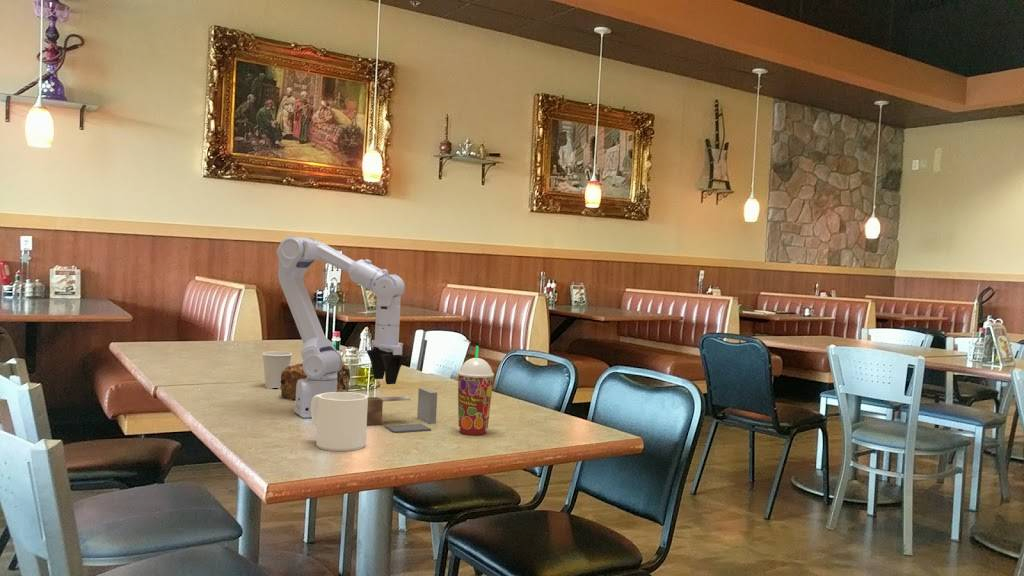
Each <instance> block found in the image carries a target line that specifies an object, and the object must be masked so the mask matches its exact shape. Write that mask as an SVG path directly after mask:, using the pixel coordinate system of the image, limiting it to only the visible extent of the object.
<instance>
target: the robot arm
mask: <svg viewBox="0 0 1024 576" xmlns="http://www.w3.org/2000/svg"><path fill="white" fill-rule="evenodd" d="M278 245H279V246H278V247H277V249H276V251H275V252H276V256H277V257H278V267H277V278H278V281H279V284H280V287H281V291H283V294H284V298H285V300H286V303H287V304H288V307H289V309H290V313H291V315H292V317H293V320H294V322H295V325H296V328H297V330H298V333H299V335H300V338H301V341H302V348H301V351H300V354H301V355H300V356H301V357H302V363H303V370H304V372H305V374H306V375H307V378H306V379H299V380H298V381H297V385H296V399H295V402H294V403H295V406H294V412H295V414H297V415H298V416H300V417H301V418H304V419H305V418H306V419H307V418H312V416H311V402H312V399H313V397H314V396H315V395H320V394H323V393H329V392H337V372H338V371H339V370H340V369H341V367H342V364H343V363H344V362H343V357H342V355H341V353H340V352H339V351H338V350H337V349H336V348H335V346H334V343H333V342H332V341H331V340H330V339H328V338H327V337H326V335H325V333H324V330H323V328H322V325H321V322H320V319H319V318H318V315H317V312H316V310H315V307H314V304H313V302H312V300H311V297H310V295H309V292H308V290H307V287H306V284H305V282H304V279H303V278H304V275H305V274H306V272H307V270H308V269H309V268H310V267H311V266H312V265H313V264H314V263H315V262H316V261H322V262H324V263H326V264H328V265H331V266H333V267H335V268H338V269H340V270H341V271H344V272H346V273H348V276H349V279H350V281H352V282H354V283H355V284H357V285H360V286H361V287H363V288H365V289H366V290H369V291H370V292H372V293H374V296H376V305H375V306H376V307H375V323H374V324H375V327H374V329H375V330H374V339H371V342H370V343H371V345H370V346H371V347H370V348H371V349H367V350H366V353H367V355H368V357H369V361H370V364H371V369H372V374H373V378H374V380H384V378H385V384H386V385H396V383H397V380H398V376H399V373H400V369H401V367H402V366H403V363H404V361H405V360H406V358H407V355H405V354H403V346H404V343H402V342H399V341H400V340H399V339H400V325H401V324H400V320H401V300H402V295H403V294H404V293H405V288H406V285H405V282H404V279H402V277H400V276H399V275H398V274H395V273H393V274H389V270H388V269H386V268H383V269H382V268H379V267H377V266H376V265H373V261H372V260H370V259H367V258H366V259H358V260H356V261H355V260H353V259H352V258H351V257H349V256H346V254H343V253H341V252H340V251H338V250H336V249H334V248H333V247H331V246H329V245H327V244H326V243H324V242H322V241H319V240H315V239H314V238H312V237H299V236H298V237H297V236H293V235H289V236H288V235H287V236H286V237H284V238H283V239H282V240H281V242H280V244H278Z"/></svg>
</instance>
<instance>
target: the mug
mask: <svg viewBox="0 0 1024 576" xmlns="http://www.w3.org/2000/svg"><path fill="white" fill-rule="evenodd" d="M368 397H369V395H367V394H365V393H360V392H350V391H348V392H329V393H323V394H320V395H315V396H314V397H313V399H312V402H311V416H312V417H311V421H312V423H313V425H314V426H315V428H316V440H315V441H316V442H315V445H316V448H319V449H321V450H324V451H330V452H331V451H332V452H353V451H358V450H361V449H364V448H365V447H366V445H367V444H366V443H367V428H368V426H367V407H368Z"/></svg>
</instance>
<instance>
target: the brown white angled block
mask: <svg viewBox="0 0 1024 576" xmlns="http://www.w3.org/2000/svg"><path fill="white" fill-rule="evenodd" d="M399 401H411V397H409V396H407V395H406V396H402V395H401V396H383V397H382V396H381V397H379V396H375V397H374V396H373V397H370V396H368V407H367V427H375V426H382V425H383V406H384V403H383V402H399Z"/></svg>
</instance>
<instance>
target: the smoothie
mask: <svg viewBox="0 0 1024 576" xmlns="http://www.w3.org/2000/svg"><path fill="white" fill-rule="evenodd" d="M479 347H480V345H475V355H474V357H471V358H469V359H467V360H466V361H464V362H463V364H462V365H461V367H460V369H459V370H458V371H457V398H458V399H457V402H458V404H457V409H458V415H457V417H458V418H457V419H458V420H457V421H458V427H459V430H460V433H462V434H465V435H468V436H469V435H471V436H477V435H478V436H480V435H484V434H485V433H486V430H487V429H488V427H489V420H490V411H491V403H492V395H493V393H492V391H493V385H494V376H495V373H494V372H493V369H492V366H491V365H490V363H488V361H487V360H485V359H483V358H481V357H479Z"/></svg>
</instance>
